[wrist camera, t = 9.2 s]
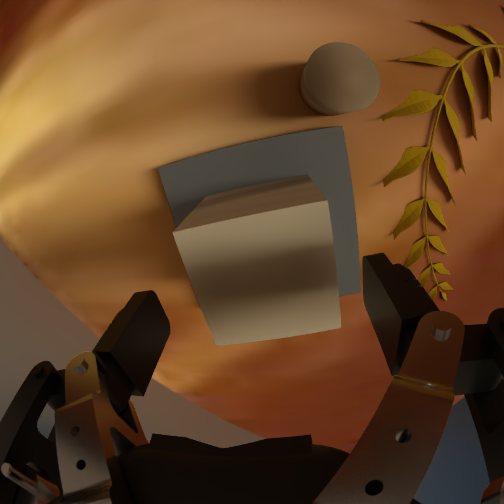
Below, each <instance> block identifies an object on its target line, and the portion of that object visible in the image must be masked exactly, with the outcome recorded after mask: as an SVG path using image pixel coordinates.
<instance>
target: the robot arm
mask: <svg viewBox="0 0 504 504" xmlns="http://www.w3.org/2000/svg"><path fill="white" fill-rule="evenodd" d="M363 297H364V303H365V307H366V310H367V312H368V315H369V317H370V320H371V322H372V325H373V327H374V330H375V332H376V335H377V337H378V340H379V342H380V345H381V348H382V350H383V353H384V356H385V358H386V361H387V364H388V367H389V369H390V372H391V375H392V376H393V375H397V374H398V375H397V377H396V376H395V377H394V378H393V379H392V381H391V383H390V385H389V387H388V389H387V391H386V393H385V395H384V397H383V399H382V401H381V403H380V405H379V406H378V408H377V410H376V412H375V414H374V415H373V417H372V419H371V421H370V422H369V424H368V426H367V428H366V429H365V431H364V433H363V434H362V436H361V437H360V439H359V441H358V442H357V444H356V445H355V447H354V448H353V450H352V451H351V453H350V454H349V453H347V452H345V451H342V450H339V449H336V448H333V447H328V446H323V445H314V444H312V438H311V435H303V436H293V437H282V438H267V439H264V440H260V441H256V442H252V443H248V444H243V445H239V446H234V447H229V448H219V447H215V446H212V445H208V444H205V443H202V442H199V441H196V440H193V439H189V438H186V437H178V436H169V435H161V434H152V438H151V440H150V443H148V441H147V439H146V437H145V435H144V432H143V430H142V427H141V425H140V422H139V420H138V416H137V414H136V411H135V408H134V405H133V403H132V402H131V401H130V400H129V399H130V397H131V395H135V396H144V394H145V392H146V389H147V387H148V384H149V382H150V380H151V377H152V375H153V372H154V370H155V368H156V365H157V363H158V361H159V358H160V356H161V354H162V351H163V349H164V347H165V344H166V342H167V340H168V337H169V335H170V323H169V320H168V318H167V316H166V314H165V312H164V310H163V307H162V305H161V303H160V301H159V299H158V297H157V295H156V293H155V292H154V291H152V290H149V291H142V292H136V293H134V294H133V296H132V297H131V299H130V300H129V301H128V303H127V304H126V306H125V307H124V308H123V309H122V310H121V311H120V312H119V313H118V314H117V315H116V316H115V318H114V319H113V321H112V323H111V324H110V325H109V327H108V330H106V331H105V333H104V334H103V336H102V337H101V339H100V340H99V342H98V343H97V345H96V346H95V348H94V349H93V351H92V352H83V353H80V354H78V355H76V356H75V357H74V358H72V359H71V360H70V362H69V363H68V364H67V366H66V369H63V370H58V371H57V370H56V369H55V368H54V366H53V365H52V364H51V362H49V361H43V362H40V363H39V364H37V365H36V366H35V367H34V368H33V369H32V370H31V371H30V373H29V374H28V376H27V378H26V379H25V381H24V382H23V384H22V386H21V387H20V389H19V391H18V392H17V394H16V395H15V397H14V399H13V401H12V402H11V404H10V406H9V407H8V409H7V411H6V413H5V415H4V417H3V418H2V420H1V422H0V504H421V503H419V502H418V501H416V500H415V499H413V497H414V495H415V494H416V492H417V490H418V488H419V486H420V484H421V482H422V480H423V478H424V476H425V474H426V472H427V470H428V468H429V466H430V464H431V461H432V459H433V457H434V454H435V452H436V450H437V447H438V445H439V442H440V439H441V437H442V434H443V432H444V429H445V426H446V423H447V420H448V417H449V414H450V411H451V408H452V404H453V401H454V396H455V395H463V394H464V396H465V398H466V401H467V404H468V406H469V409H470V412H471V415H472V418H473V421H474V424H475V427H476V430H477V433H478V437H479V440H480V444H481V447H482V450H483V455H484V459H485V463H486V467H487V471H488V476H489V480H490V484H489V485H488V487H487V488H486V489H485V491H484V493H483V495H482V497H481V500H480V504H504V380H503V377H504V308H499V309H496V310H494V311H493V312H492V313H491V314H490V316H489V318H488V321H487V324H477V325H464V324H463V322H462V321H461V320H460V319H459V318H458V317H457V316H456V315H454V314H452V313H450V312H446V311H440V310H439V309H438V307H437V306H436V305H435V303H434V302H433V300H432V299H431V298H430V296H429V295H428V293H427V292H426V291H425V289H424V288H423V287H421V284H420V283H419V281H418V280H416V277H415V276H414V275H413V273H412V272H411V271H410V270H409V269H408V268H406V267H404V266H402V265H401V264H399V263H398V264H393V265H392V263H391V262H390V261H389V259H388V258H387V257H386V255H385V254H384V253H378V254H373V255H368V256H364V257H363ZM46 404H48V405H49V406H50V407H51V408H52V409H53V410H54V411H55V414H54V415H55V424H54V426H53V428H52V431H51V433H50V435H49V437H48V439H46V438H45V437H44V436H43V435H42V434H41V433H40V432H39V431H38V428H37V421H38V419H39V417H40V415H41V413H42V411H43V409H44V407H45V405H46ZM27 463H28V465H26V464H27Z"/></svg>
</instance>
